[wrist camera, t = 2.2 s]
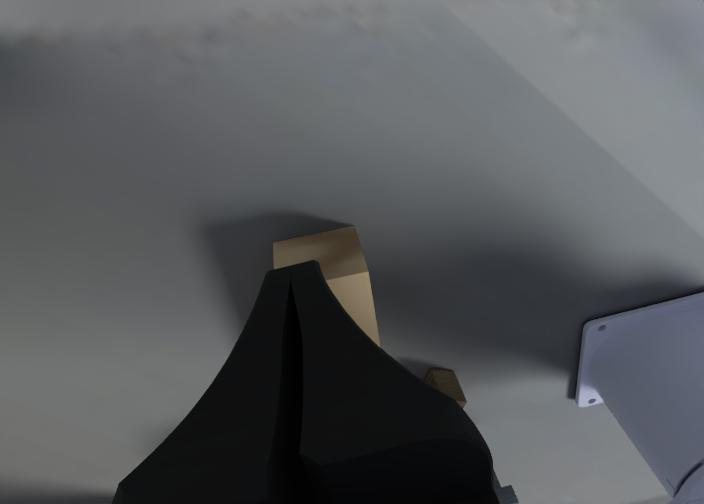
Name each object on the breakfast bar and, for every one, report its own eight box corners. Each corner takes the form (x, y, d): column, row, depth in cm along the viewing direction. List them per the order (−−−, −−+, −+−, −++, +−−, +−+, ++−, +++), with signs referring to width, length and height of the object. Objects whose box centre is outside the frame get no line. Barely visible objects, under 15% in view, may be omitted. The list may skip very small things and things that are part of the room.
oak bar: (353, 223, 24) (368, 271, 21) (377, 363, 30) (391, 418, 27) (272, 239, 24) (274, 291, 21) (311, 377, 30) (318, 434, 27)
